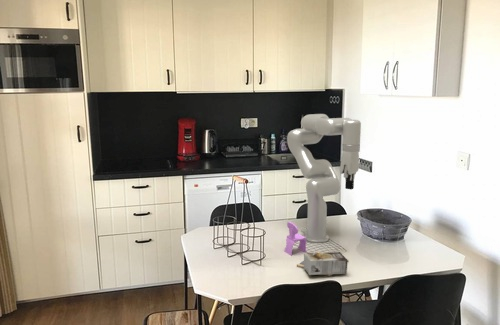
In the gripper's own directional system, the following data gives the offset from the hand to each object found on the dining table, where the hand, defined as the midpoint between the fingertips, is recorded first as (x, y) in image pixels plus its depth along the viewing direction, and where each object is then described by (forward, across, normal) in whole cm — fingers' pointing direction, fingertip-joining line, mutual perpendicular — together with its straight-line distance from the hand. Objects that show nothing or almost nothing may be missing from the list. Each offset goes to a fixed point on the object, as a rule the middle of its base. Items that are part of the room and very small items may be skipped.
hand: (349, 188), depth 190 cm
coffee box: (+28, +27, -6) cm, 39 cm away
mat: (+32, +14, -5) cm, 35 cm away
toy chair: (+32, +9, -22) cm, 40 cm away
